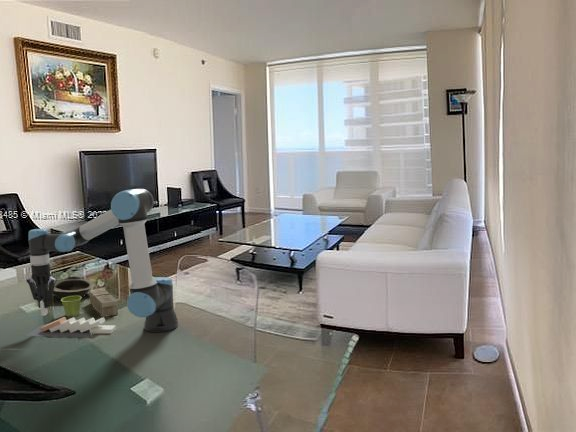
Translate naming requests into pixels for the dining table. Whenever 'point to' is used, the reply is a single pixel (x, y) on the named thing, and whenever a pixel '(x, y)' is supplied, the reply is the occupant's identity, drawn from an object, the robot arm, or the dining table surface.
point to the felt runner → (59, 333)
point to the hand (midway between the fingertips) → (44, 314)
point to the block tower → (103, 302)
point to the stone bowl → (72, 287)
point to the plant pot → (71, 305)
